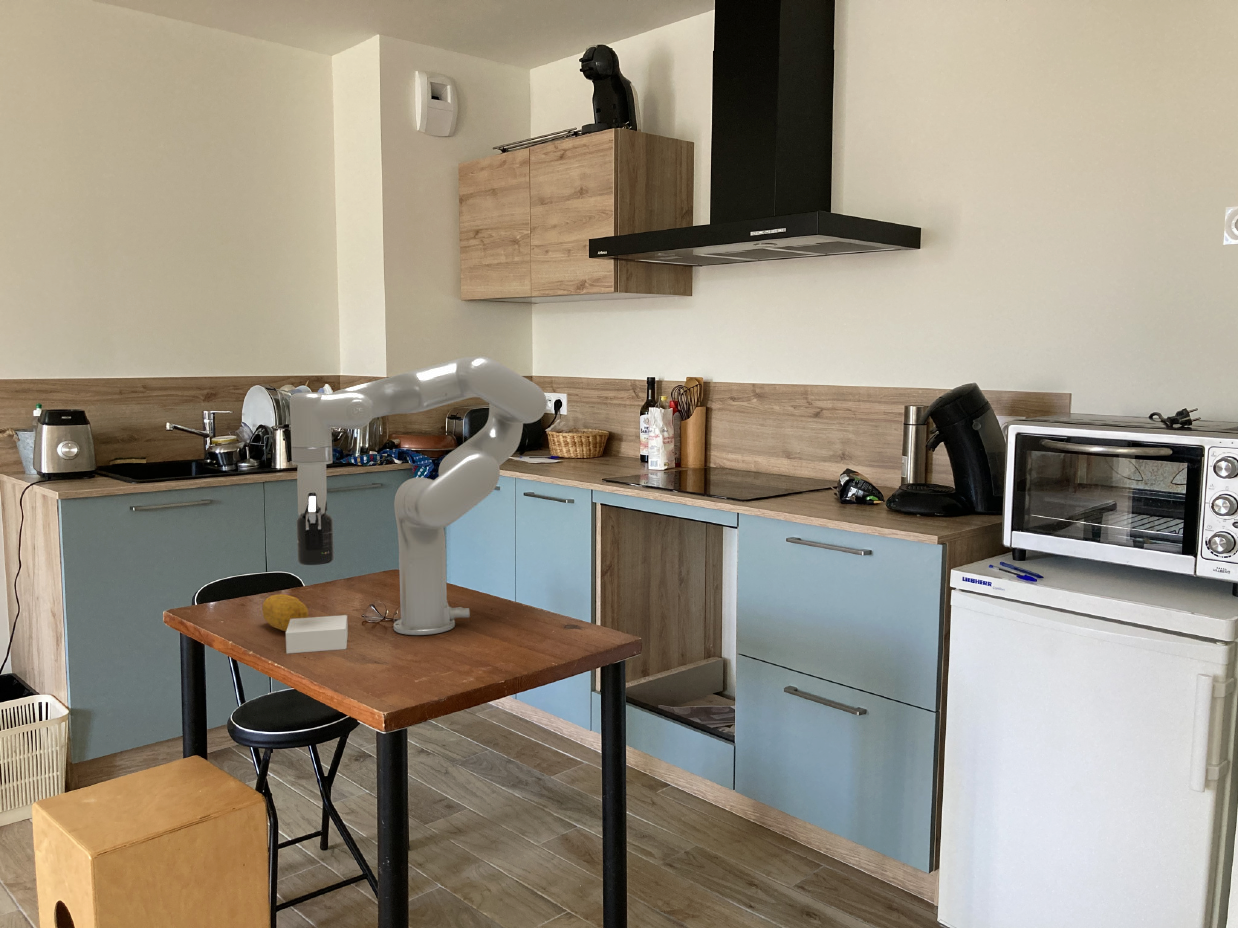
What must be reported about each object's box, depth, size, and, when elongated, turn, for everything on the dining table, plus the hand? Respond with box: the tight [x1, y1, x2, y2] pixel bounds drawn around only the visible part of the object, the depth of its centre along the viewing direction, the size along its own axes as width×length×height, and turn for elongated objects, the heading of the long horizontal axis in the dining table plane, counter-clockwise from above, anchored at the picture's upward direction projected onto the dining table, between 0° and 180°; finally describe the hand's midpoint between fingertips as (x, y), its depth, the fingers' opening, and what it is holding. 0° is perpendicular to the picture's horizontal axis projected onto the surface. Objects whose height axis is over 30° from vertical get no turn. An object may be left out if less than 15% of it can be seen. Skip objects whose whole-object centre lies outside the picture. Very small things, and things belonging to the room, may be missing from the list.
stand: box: [285, 614, 349, 654], centre depth 189 cm, size 11×11×4 cm
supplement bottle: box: [295, 500, 335, 566], centre depth 187 cm, size 7×7×12 cm
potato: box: [261, 593, 309, 633], centre depth 200 cm, size 7×14×7 cm, turn 38°
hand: (315, 545), depth 187 cm, fingers closed on supplement bottle, 6 cm apart
